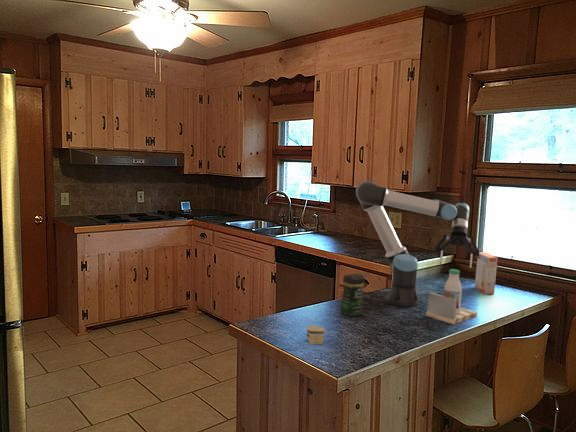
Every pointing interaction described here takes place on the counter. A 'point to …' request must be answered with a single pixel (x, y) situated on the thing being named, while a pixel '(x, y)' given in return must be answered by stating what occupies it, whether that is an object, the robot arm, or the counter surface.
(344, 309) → the coffee jar
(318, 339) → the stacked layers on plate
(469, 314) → the shelf board
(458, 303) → the milk bottle
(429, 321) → the counter surface
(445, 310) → the bookend
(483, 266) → the cracker box
